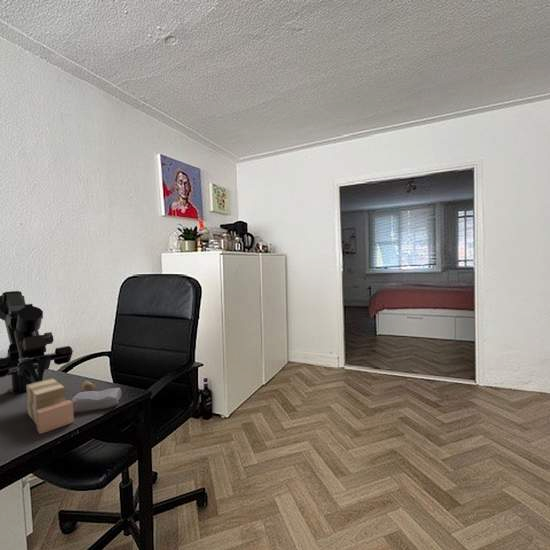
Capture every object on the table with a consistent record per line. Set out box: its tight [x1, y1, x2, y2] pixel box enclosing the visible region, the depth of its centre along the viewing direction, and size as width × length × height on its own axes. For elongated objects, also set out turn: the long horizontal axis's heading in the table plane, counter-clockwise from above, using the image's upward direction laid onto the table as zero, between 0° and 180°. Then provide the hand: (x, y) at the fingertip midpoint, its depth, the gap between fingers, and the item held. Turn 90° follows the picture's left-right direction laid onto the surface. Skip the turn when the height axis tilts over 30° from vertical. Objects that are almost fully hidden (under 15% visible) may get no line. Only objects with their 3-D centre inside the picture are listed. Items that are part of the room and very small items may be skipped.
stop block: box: [36, 399, 75, 435], centre depth 76 cm, size 3×7×5 cm, turn 139°
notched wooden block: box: [26, 377, 67, 426], centre depth 82 cm, size 12×6×8 cm, turn 49°
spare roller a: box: [80, 380, 97, 392], centre depth 98 cm, size 5×3×3 cm
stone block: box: [70, 387, 122, 414], centre depth 89 cm, size 12×5×10 cm
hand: (39, 385), depth 86 cm, fingers closed, pressing on notched wooden block
